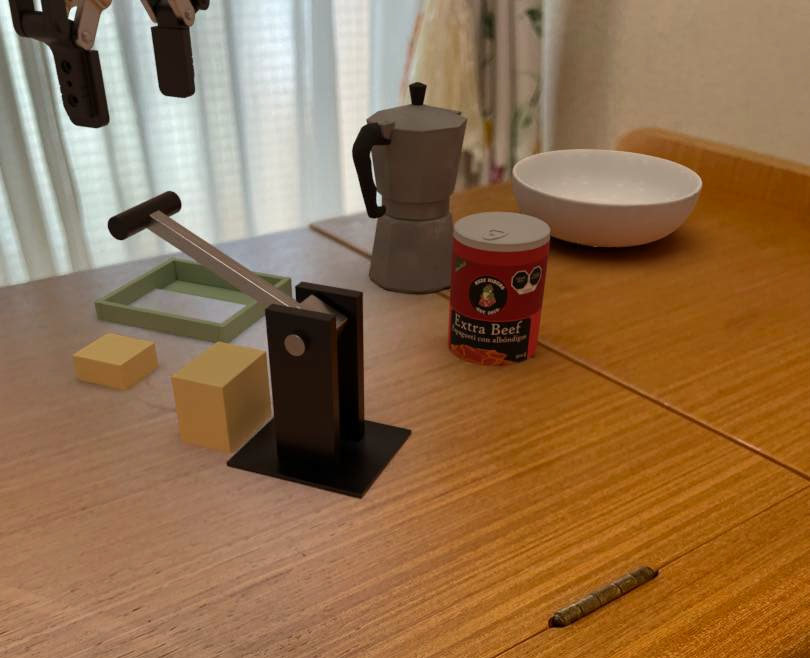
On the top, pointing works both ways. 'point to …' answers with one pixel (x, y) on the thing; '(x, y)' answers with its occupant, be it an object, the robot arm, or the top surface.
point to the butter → (222, 396)
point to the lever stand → (319, 400)
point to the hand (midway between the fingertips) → (136, 110)
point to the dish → (192, 282)
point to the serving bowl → (605, 195)
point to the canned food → (497, 287)
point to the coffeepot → (410, 191)
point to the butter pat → (116, 361)
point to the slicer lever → (206, 253)
